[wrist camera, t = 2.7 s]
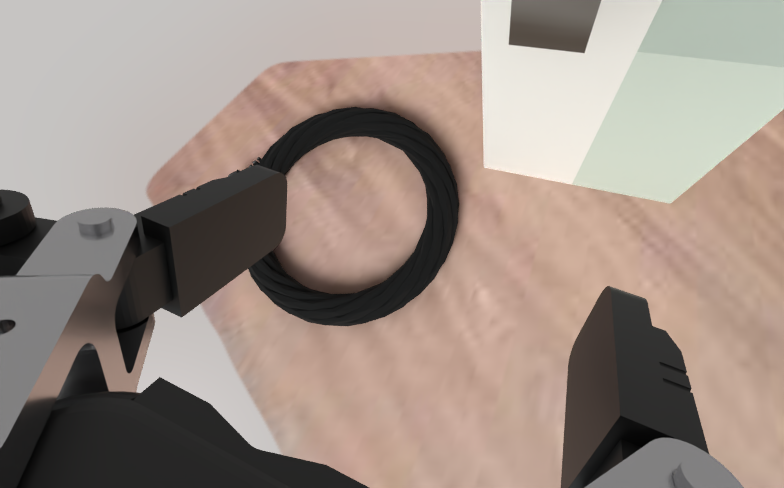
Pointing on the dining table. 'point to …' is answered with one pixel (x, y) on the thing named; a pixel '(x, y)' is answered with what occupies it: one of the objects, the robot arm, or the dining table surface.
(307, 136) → the cable lock
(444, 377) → the dining table surface
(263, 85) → the dining table surface
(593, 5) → the block
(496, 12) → the riser
